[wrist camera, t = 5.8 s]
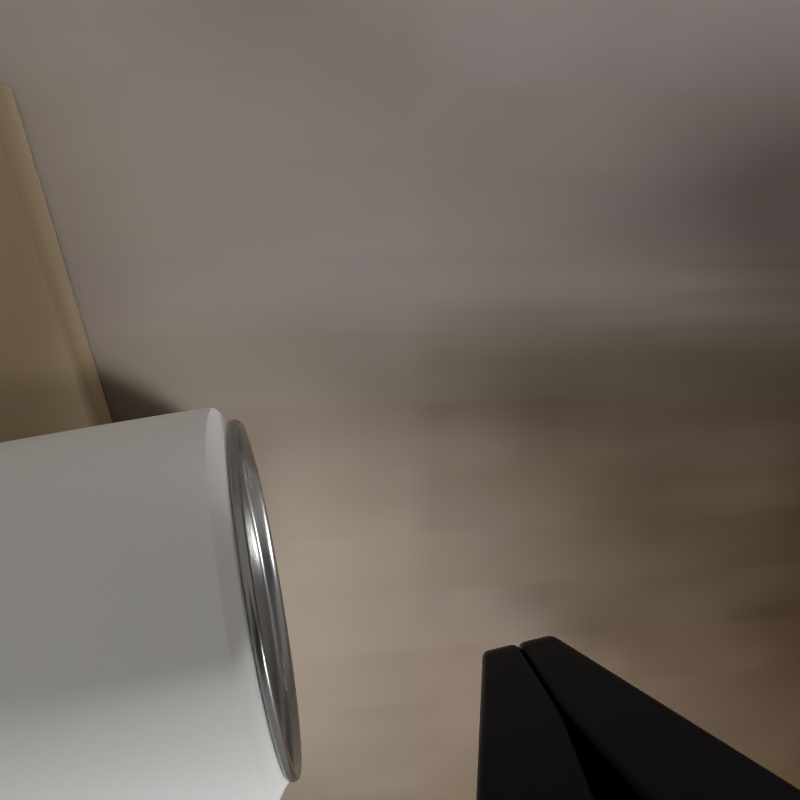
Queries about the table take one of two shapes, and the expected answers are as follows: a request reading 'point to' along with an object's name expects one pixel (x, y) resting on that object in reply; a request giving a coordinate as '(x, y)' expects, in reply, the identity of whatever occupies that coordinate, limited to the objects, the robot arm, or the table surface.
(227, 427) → the can
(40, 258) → the cradle
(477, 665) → the table surface
